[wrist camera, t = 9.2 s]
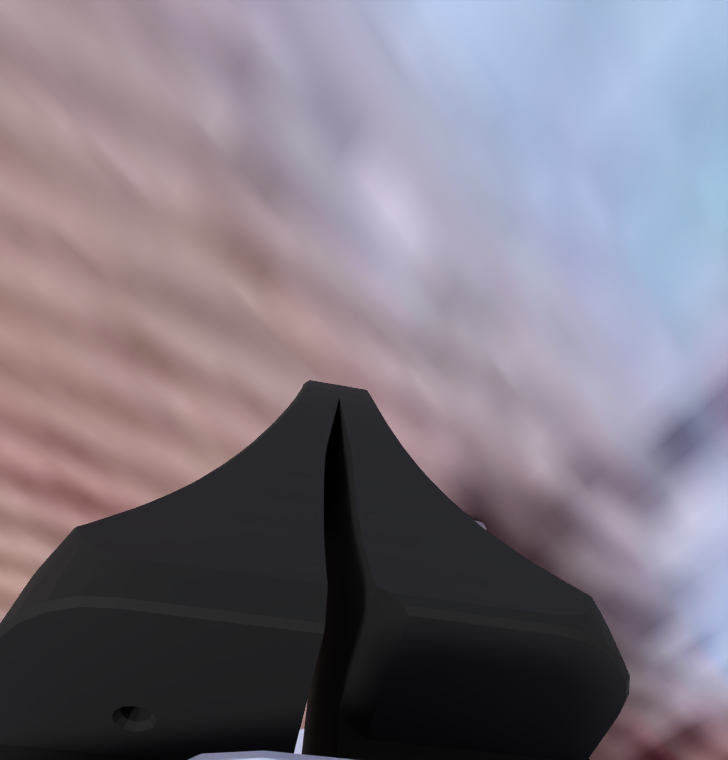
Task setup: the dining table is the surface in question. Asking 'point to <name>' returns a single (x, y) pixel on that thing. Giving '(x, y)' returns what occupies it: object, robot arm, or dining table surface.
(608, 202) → the dining table surface
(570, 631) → the robot arm
